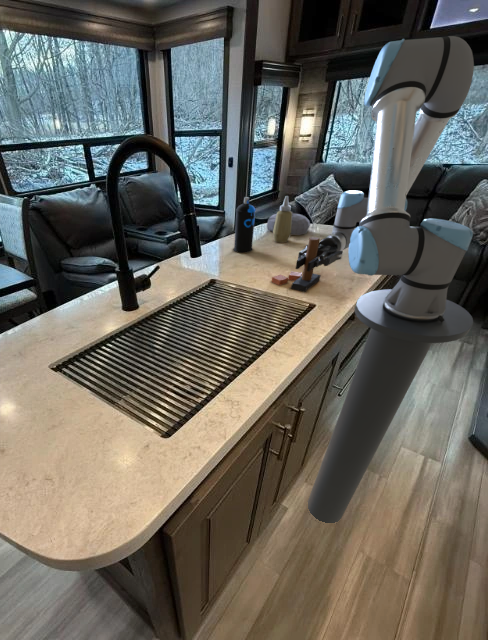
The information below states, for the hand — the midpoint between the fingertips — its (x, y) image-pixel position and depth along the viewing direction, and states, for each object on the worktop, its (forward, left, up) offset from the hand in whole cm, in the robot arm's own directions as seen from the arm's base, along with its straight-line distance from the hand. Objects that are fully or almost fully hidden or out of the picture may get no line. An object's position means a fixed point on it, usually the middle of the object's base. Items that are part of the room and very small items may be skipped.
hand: (303, 265), depth 107 cm
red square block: (+8, -2, -8) cm, 12 cm away
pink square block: (+5, -8, -8) cm, 13 cm away
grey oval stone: (+34, -62, -8) cm, 72 cm away
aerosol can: (+38, -26, -8) cm, 47 cm away
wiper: (0, -5, -8) cm, 10 cm away
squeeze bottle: (+30, -46, -8) cm, 56 cm away
